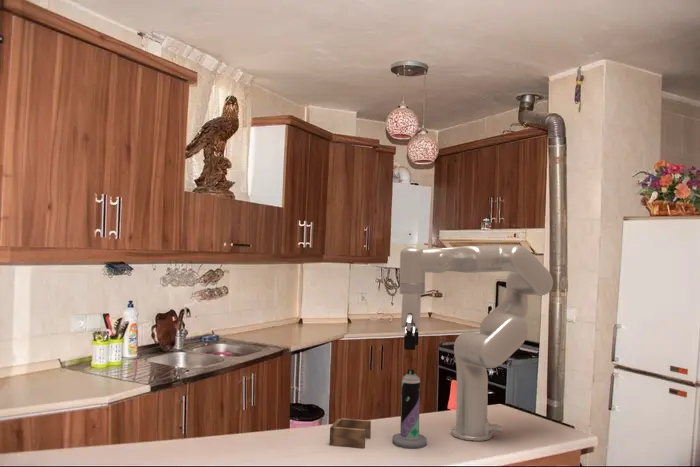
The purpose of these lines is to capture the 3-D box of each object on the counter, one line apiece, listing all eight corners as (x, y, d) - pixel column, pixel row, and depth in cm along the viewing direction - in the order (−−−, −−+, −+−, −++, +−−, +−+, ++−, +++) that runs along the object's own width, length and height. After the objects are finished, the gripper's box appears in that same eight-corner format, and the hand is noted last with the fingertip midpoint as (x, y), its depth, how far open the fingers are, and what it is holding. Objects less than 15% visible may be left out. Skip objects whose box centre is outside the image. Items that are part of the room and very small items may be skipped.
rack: (370, 437, 170) (370, 420, 171) (364, 448, 160) (364, 430, 160) (337, 434, 172) (338, 417, 173) (329, 445, 162) (330, 427, 162)
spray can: (404, 441, 163) (405, 371, 163) (397, 435, 168) (399, 367, 169) (421, 440, 164) (423, 370, 165) (414, 434, 169) (415, 367, 170)
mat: (427, 439, 170) (427, 434, 170) (425, 450, 160) (425, 444, 160) (394, 436, 172) (394, 431, 172) (390, 446, 162) (390, 441, 162)
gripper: (402, 287, 177) (402, 342, 176) (396, 290, 160) (395, 351, 159) (426, 288, 176) (426, 343, 175) (422, 291, 159) (421, 352, 158)
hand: (411, 347), depth 167 cm, fingers open, 9 cm apart
